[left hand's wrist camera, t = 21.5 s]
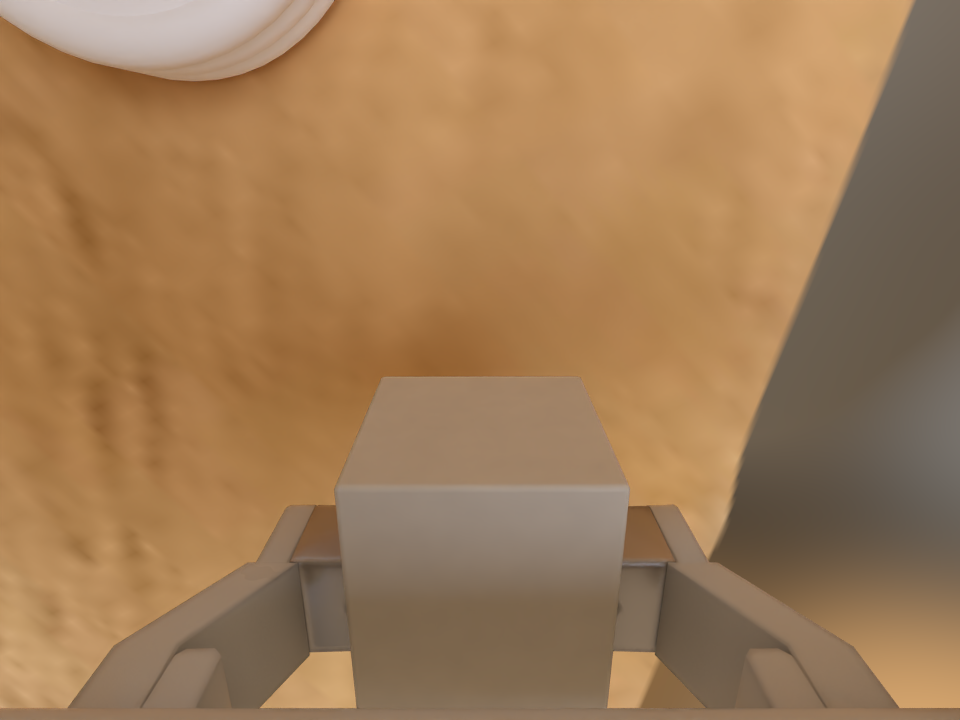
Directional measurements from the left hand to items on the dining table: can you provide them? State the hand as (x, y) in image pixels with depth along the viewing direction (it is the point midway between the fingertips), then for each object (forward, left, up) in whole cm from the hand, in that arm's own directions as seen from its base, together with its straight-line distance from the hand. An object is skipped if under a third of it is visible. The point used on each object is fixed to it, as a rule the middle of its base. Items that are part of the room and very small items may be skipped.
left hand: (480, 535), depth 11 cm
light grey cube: (0, 0, -2) cm, 2 cm away
